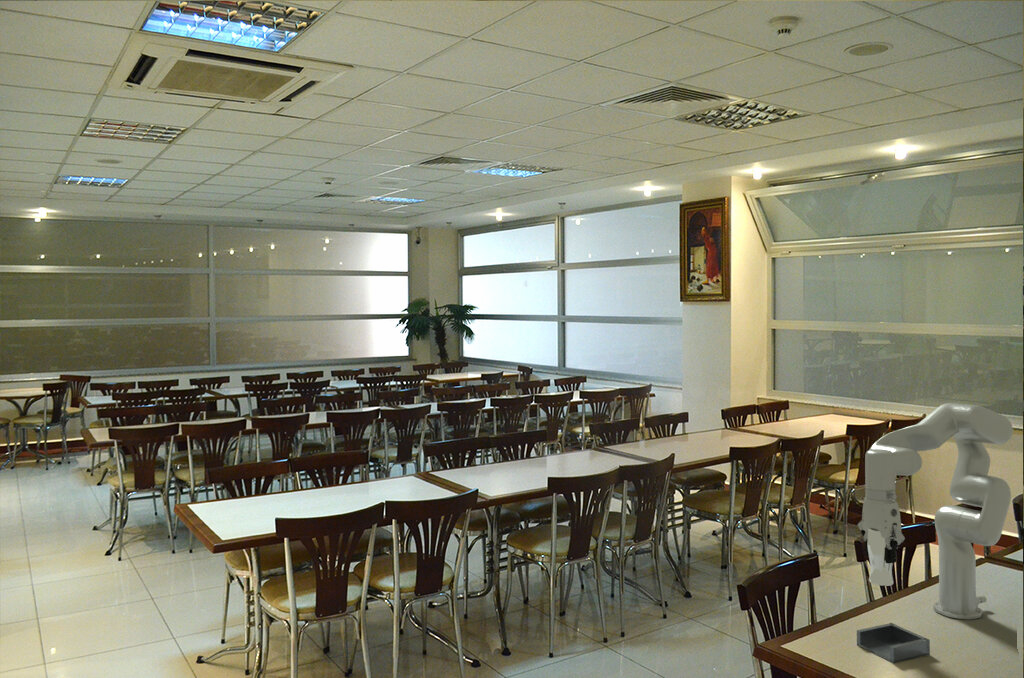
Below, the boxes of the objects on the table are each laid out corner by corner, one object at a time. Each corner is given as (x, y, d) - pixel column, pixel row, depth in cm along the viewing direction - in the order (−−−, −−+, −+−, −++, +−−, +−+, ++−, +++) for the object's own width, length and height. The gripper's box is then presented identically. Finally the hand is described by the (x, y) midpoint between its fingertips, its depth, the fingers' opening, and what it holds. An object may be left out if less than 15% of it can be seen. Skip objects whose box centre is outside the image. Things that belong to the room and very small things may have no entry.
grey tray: (891, 637, 218) (891, 622, 217) (929, 654, 206) (929, 639, 206) (856, 644, 213) (856, 630, 213) (893, 663, 202) (893, 648, 201)
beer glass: (897, 587, 214) (897, 532, 213) (870, 585, 215) (870, 531, 215) (891, 578, 220) (891, 525, 220) (865, 577, 222) (864, 524, 222)
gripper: (916, 500, 210) (916, 566, 210) (867, 487, 226) (867, 549, 227) (894, 502, 208) (894, 569, 208) (846, 489, 224) (846, 551, 224)
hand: (880, 558), depth 217 cm, fingers closed on beer glass, 6 cm apart
